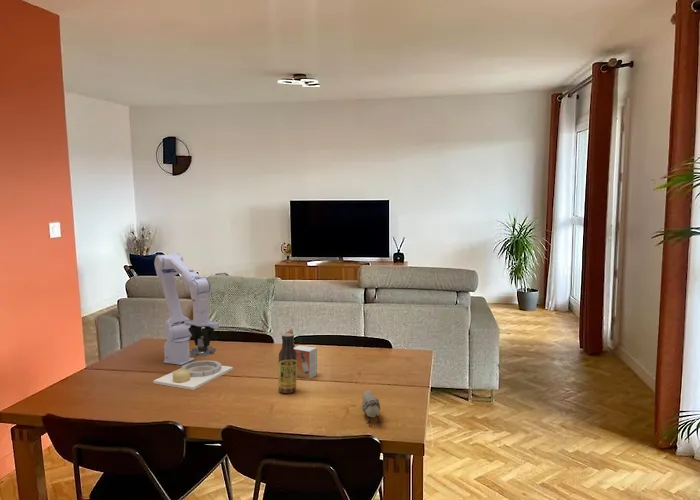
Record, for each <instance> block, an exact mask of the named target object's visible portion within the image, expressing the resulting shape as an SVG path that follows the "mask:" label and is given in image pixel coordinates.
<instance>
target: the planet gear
mask: <svg viewBox="0 0 700 500" xmlns="http://www.w3.org/2000/svg"><path fill="white" fill-rule="evenodd" d="M197 343H198V345H197V347H192V348H191V350H189V356H193V357H192V358H194V357H195V358H197V357H203V358H204V357H207V356H210V355H211V356H212V355H215V352H217V348H216V347H213V346H212V345H209V346H207V347H205V346H204V338H203V335H201V336H200V337H198V338H197Z"/></svg>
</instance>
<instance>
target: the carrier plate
mask: <svg viewBox="0 0 700 500" xmlns="http://www.w3.org/2000/svg"><path fill="white" fill-rule="evenodd" d="M233 370H234V366H227V365H222V363H221V362H219V361H217V360H210V359H207V360H206V359H205V360H195V361H190V362H187V363H185V364H183V365H181V367H180V368H179V369H175V370H173V371H172V372H170V373H167V374H164V375H162V376H161V377H159V378H156V379H154V380H153V381H152V382H153V384H156V385H161V386H167V387H173V388H179V389H185V390H190V391H191V390H192V391H195V390H197V389H198V388H201V387H202V386H204V385H206V384H208V383H210V382H212V381H215V380H217V379H218V378H220V377H222V376H223V375H225V374H227V373H229V372H231V371H233Z"/></svg>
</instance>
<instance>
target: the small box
mask: <svg viewBox="0 0 700 500" xmlns="http://www.w3.org/2000/svg"><path fill="white" fill-rule="evenodd" d="M294 349H295V351H296V358H297V376H296V377H298V378H303V379H307V380H310V379H312V378H314V377H316V376H317V375H318V347H313V346H306V345H301V344H299V345H297V346H295V347H294Z"/></svg>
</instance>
